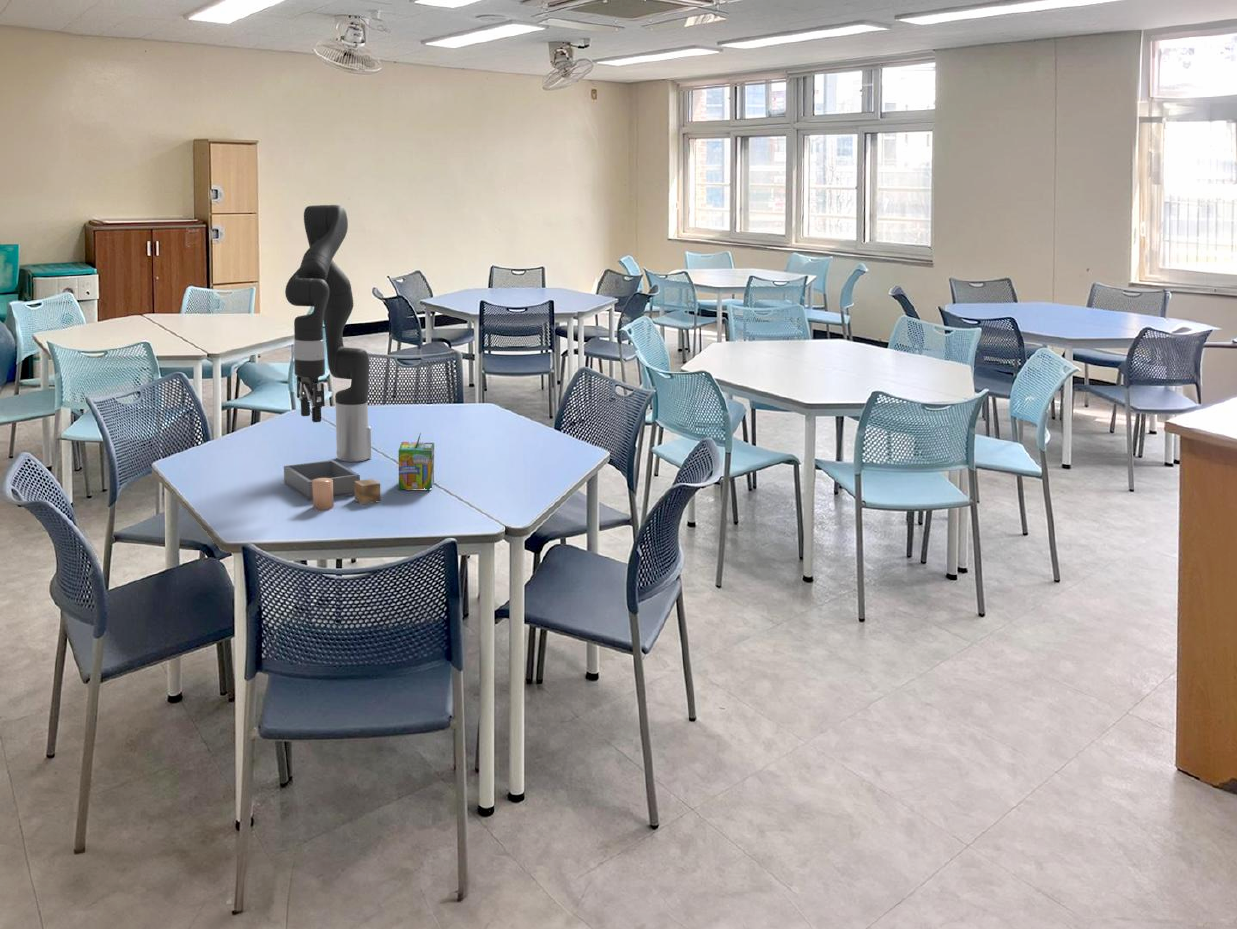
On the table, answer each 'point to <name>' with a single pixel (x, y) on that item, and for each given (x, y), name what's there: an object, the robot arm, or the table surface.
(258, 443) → the table surface
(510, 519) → the table surface
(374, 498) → the walnut cube
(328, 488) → the terracotta cylinder
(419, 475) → the juice box
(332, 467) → the charcoal tote
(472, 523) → the table surface
